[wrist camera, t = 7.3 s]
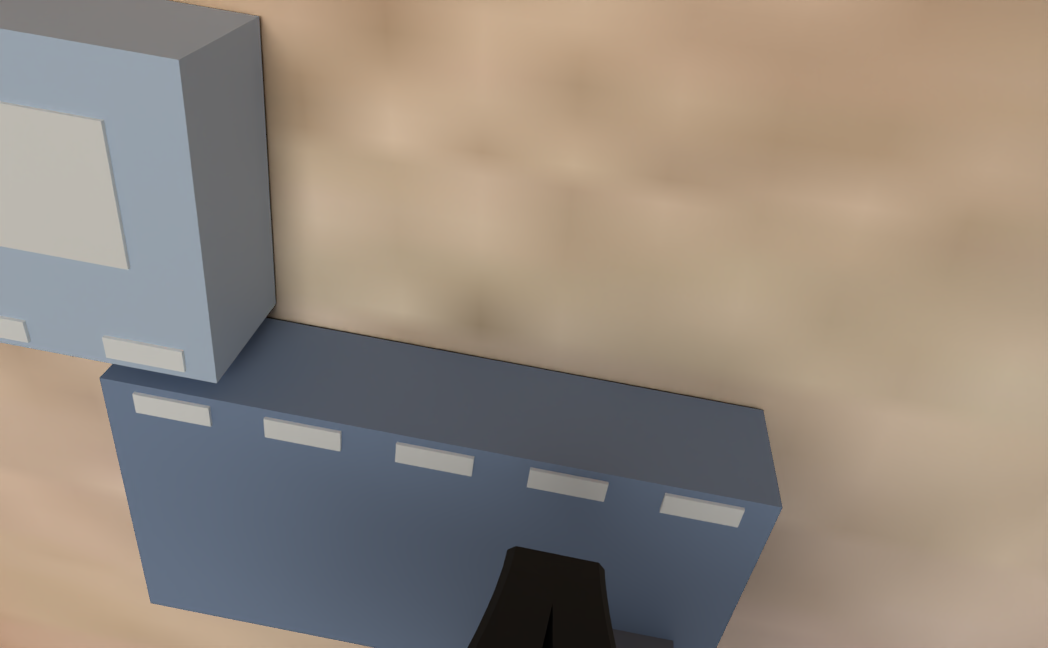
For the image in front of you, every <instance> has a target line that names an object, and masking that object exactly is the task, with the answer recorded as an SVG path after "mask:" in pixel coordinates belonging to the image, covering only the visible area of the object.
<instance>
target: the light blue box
mask: <svg viewBox="0 0 1048 648" xmlns="http://www.w3.org/2000/svg"><path fill="white" fill-rule="evenodd" d="M275 304H276V298H275V280H274V263H273V246H272V229H271V211H270V194H269V177H268V160H267V142H266V125H265V108H264V91H263V73H262V56H261V39H260V22H259V16H255V15H249V14H243V13H237V12H232V11H226V10H220V9H214V8H209V7H203V6H197V5H191V4H186V3H180V2H174V1H168V0H0V342H1V343H6V344H11V345H17V346H22V347H27V348H32V349H38V350H43V351H48V352H54V353H59V354H64V355H69V356H75V357H80V358H85V359H91V360H96V361H101V362H106V363H112V364H117V365H122V366H128V367H133V368H138V369H143V370H149V371H154V372H159V373H165V374H170V375H175V376H180V377H186V378H191V379H196V380H202V381H207V382H212V383H218V381H219V380H220V379H221V377H222V376H223V374H224V373H225V372H226V370H227V369H228V368H229V366H230V365H231V364H232V362H233V361H234V360H235V358H236V357H237V356H238V354H239V353H240V352H241V350H242V349H243V347H244V346H245V345H246V343H247V342H248V341H249V339H250V338H251V337H252V335H253V334H254V333H255V331H256V330H257V329H258V327H259V326H260V325H261V323H262V322H263V320H264V319H265V318H266V316H267V315H268V314H269V312H270V311H271V310H272V308H273V307H274V306H275Z"/></svg>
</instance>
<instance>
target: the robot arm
mask: <svg viewBox="0 0 1048 648" xmlns="http://www.w3.org/2000/svg"><path fill="white" fill-rule="evenodd" d="M467 648H616V644H615V639H614V634H613V629H612V623H611V618H610V612H609V605H608V598H607V590H606V581H605V569H604V568H603V567H602V566H601V565H600V563H598V562H593V561H588V560H583V559H578V558H573V557H568V556H564V555H559V554H554V553H549V552H544V551H539V550H534V549H529V548H524V547H519V546H515V547H512V548H510V549H507V552H506V556H505V560H504V564H503V568H502V571H501V573H500V576H499V579H498V582H497V585H496V587H495V590H494V592H493V595H492V597H491V600H490V602H489V604H488V607H487V609H486V611H485V613H484V615H483V617H482V620H481V622H480V624H479V626H478V628H477V630H476V632H475V634H474V636H473V638H472V640H471V642H470V644H469V646H468V647H467Z"/></svg>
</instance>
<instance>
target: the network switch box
mask: <svg viewBox="0 0 1048 648" xmlns="http://www.w3.org/2000/svg"><path fill="white" fill-rule="evenodd" d="M100 382H101V386H102V391H103V395H104V399H105V404H106V408H107V413H108V417H109V421H110V426H111V430H112V434H113V439H114V443H115V448H116V452H117V456H118V461H119V465H120V470H121V474H122V478H123V483H124V487H125V492H126V496H127V500H128V505H129V509H130V514H131V518H132V522H133V527H134V531H135V536H136V540H137V544H138V549H139V553H140V557H141V562H142V566H143V571H144V575H145V579H146V584H147V588H148V593H149V597H150V601H151V603H153V604H158V605H163V606H168V607H173V608H178V609H183V610H188V611H193V612H198V613H203V614H208V615H213V616H218V617H223V618H228V619H233V620H238V621H243V622H249V623H254V624H259V625H264V626H269V627H274V628H279V629H284V630H289V631H294V632H299V633H304V634H309V635H314V636H319V637H324V638H329V639H334V640H339V641H344V642H349V643H354V644H359V645H364V646H369V647H374V648H467V647H468V646H469V644H470V642H471V640H472V638H473V636H474V634H475V632H476V630H477V628H478V626H479V624H480V622H481V620H482V617H483V615H484V613H485V611H486V609H487V607H488V604H489V602H490V600H491V597H492V595H493V592H494V590H495V587H496V585H497V582H498V579H499V576H500V573H501V571H502V568H503V564H504V560H505V556H506V552H507V549H510V548H512V547H515V546H519V547H524V548H529V549H534V550H539V551H544V552H549V553H554V554H559V555H564V556H568V557H573V558H578V559H583V560H588V561H593V562H598V563H600V565H601V566H602V567H603V568H604V569H605V581H606V590H607V598H608V605H609V612H610V618H611V623H612V629H613V634H614V639H615V644H616V648H716V647H717V645H718V643H719V641H720V639H721V637H722V635H723V633H724V630H725V628H726V626H727V624H728V622H729V620H730V618H731V616H732V613H733V611H734V609H735V607H736V605H737V603H738V601H739V599H740V597H741V594H742V592H743V590H744V588H745V586H746V584H747V582H748V580H749V577H750V575H751V573H752V571H753V569H754V567H755V565H756V563H757V560H758V558H759V556H760V554H761V552H762V550H763V548H764V546H765V544H766V541H767V539H768V537H769V535H770V533H771V531H772V529H773V527H774V524H775V522H776V520H777V518H778V516H779V514H780V512H781V510H782V503H781V498H780V493H779V488H778V483H777V478H776V473H775V468H774V463H773V458H772V452H771V447H770V442H769V437H768V432H767V427H766V422H765V417H764V412H763V410H759V409H754V408H748V407H743V406H737V405H732V404H727V403H721V402H716V401H711V400H705V399H700V398H694V397H689V396H684V395H678V394H673V393H668V392H662V391H657V390H651V389H646V388H641V387H635V386H630V385H625V384H619V383H614V382H609V381H603V380H598V379H592V378H587V377H582V376H576V375H571V374H566V373H560V372H555V371H549V370H544V369H539V368H533V367H528V366H523V365H517V364H512V363H506V362H501V361H496V360H490V359H485V358H480V357H474V356H469V355H464V354H458V353H453V352H447V351H442V350H437V349H431V348H426V347H421V346H415V345H410V344H404V343H399V342H394V341H388V340H383V339H378V338H372V337H367V336H361V335H356V334H351V333H345V332H340V331H335V330H329V329H324V328H319V327H313V326H308V325H302V324H297V323H292V322H286V321H281V320H276V319H270V318H265V319H264V320H263V322H262V323H261V325H260V326H259V327H258V329H257V330H256V331H255V333H254V334H253V335H252V337H251V338H250V339H249V341H248V342H247V343H246V345H245V346H244V347H243V349H242V350H241V352H240V353H239V354H238V356H237V357H236V358H235V360H234V361H233V362H232V364H231V365H230V366H229V368H228V369H227V370H226V372H225V373H224V374H223V376H222V377H221V379H220V380H219V381H218V383H212V382H207V381H202V380H196V379H191V378H186V377H180V376H175V375H170V374H165V373H159V372H154V371H149V370H143V369H138V368H133V367H128V366H122V365H117V364H112V365H111V366H110V368H109V369H108V370H107V371H106V372H105V373H104V374H103V375H102V376H101V377H100Z"/></svg>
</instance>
